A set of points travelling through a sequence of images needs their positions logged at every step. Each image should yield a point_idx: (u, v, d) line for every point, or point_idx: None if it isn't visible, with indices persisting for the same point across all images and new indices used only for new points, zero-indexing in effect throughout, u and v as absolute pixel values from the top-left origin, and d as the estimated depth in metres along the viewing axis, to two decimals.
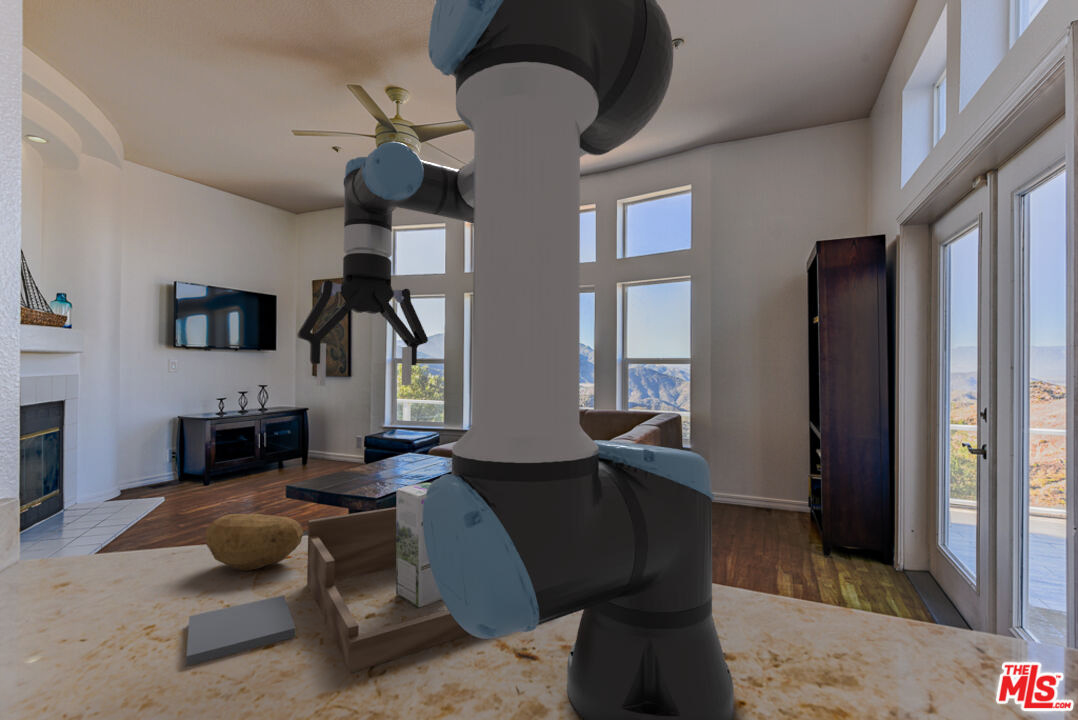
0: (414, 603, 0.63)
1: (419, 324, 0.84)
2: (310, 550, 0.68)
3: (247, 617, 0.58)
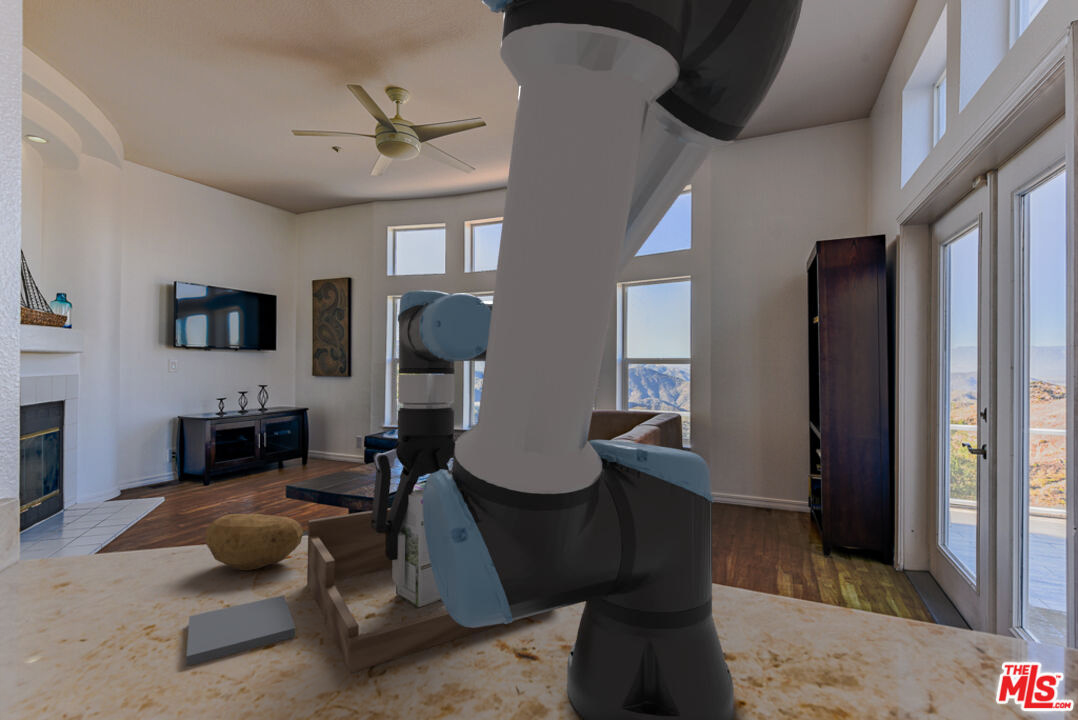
0: (414, 603, 0.63)
1: None
2: (310, 550, 0.68)
3: (247, 617, 0.58)
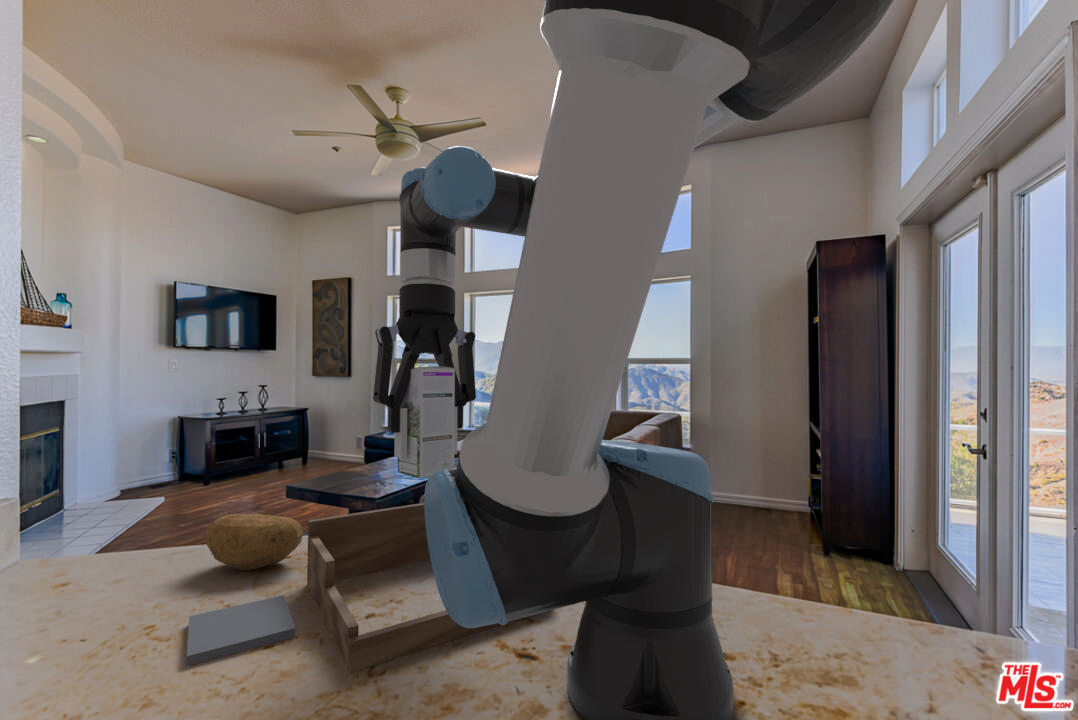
0: (415, 475, 0.63)
1: (472, 377, 0.69)
2: (310, 550, 0.68)
3: (247, 617, 0.58)
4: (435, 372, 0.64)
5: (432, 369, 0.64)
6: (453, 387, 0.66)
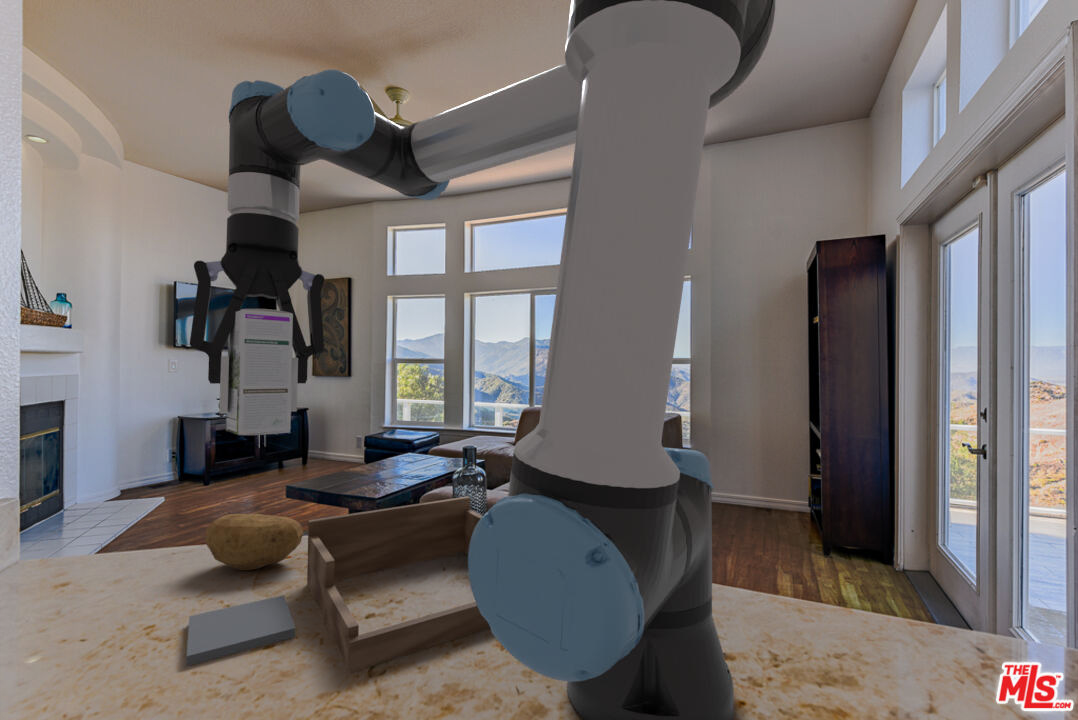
0: (235, 431, 0.55)
1: (319, 325, 0.61)
2: (310, 550, 0.68)
3: (247, 617, 0.58)
4: (264, 315, 0.56)
5: (259, 311, 0.56)
6: (289, 334, 0.58)
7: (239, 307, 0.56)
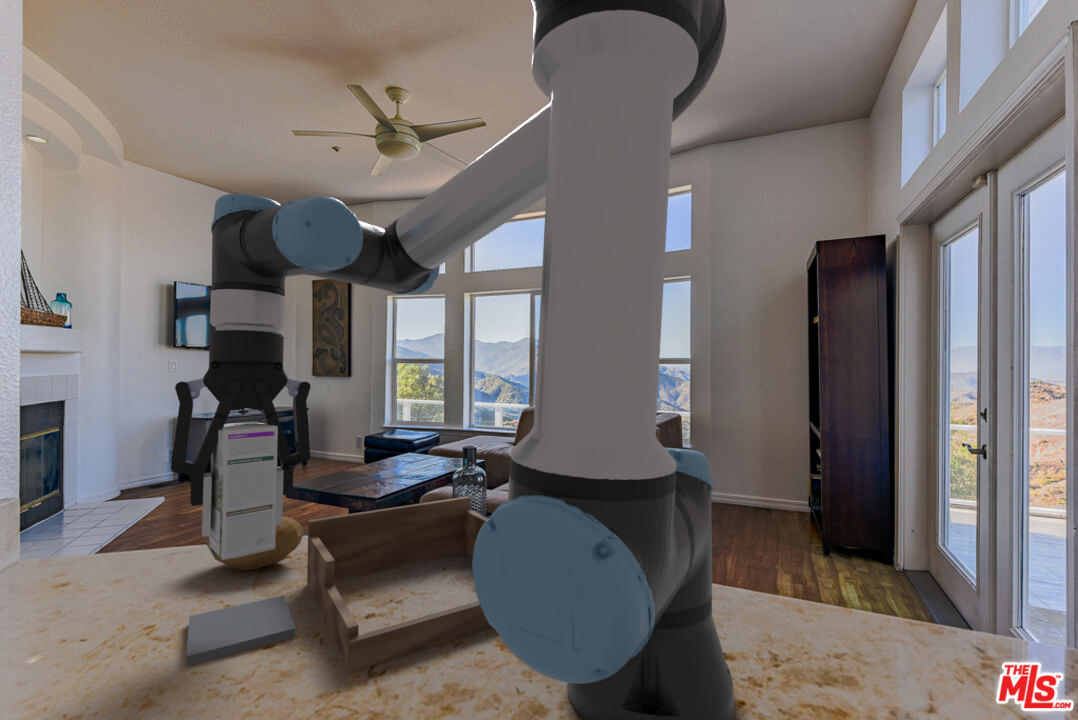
0: (218, 555, 0.54)
1: (305, 434, 0.60)
2: (310, 550, 0.68)
3: (247, 617, 0.58)
4: (248, 433, 0.55)
5: (242, 429, 0.55)
6: (274, 448, 0.57)
7: (222, 425, 0.55)
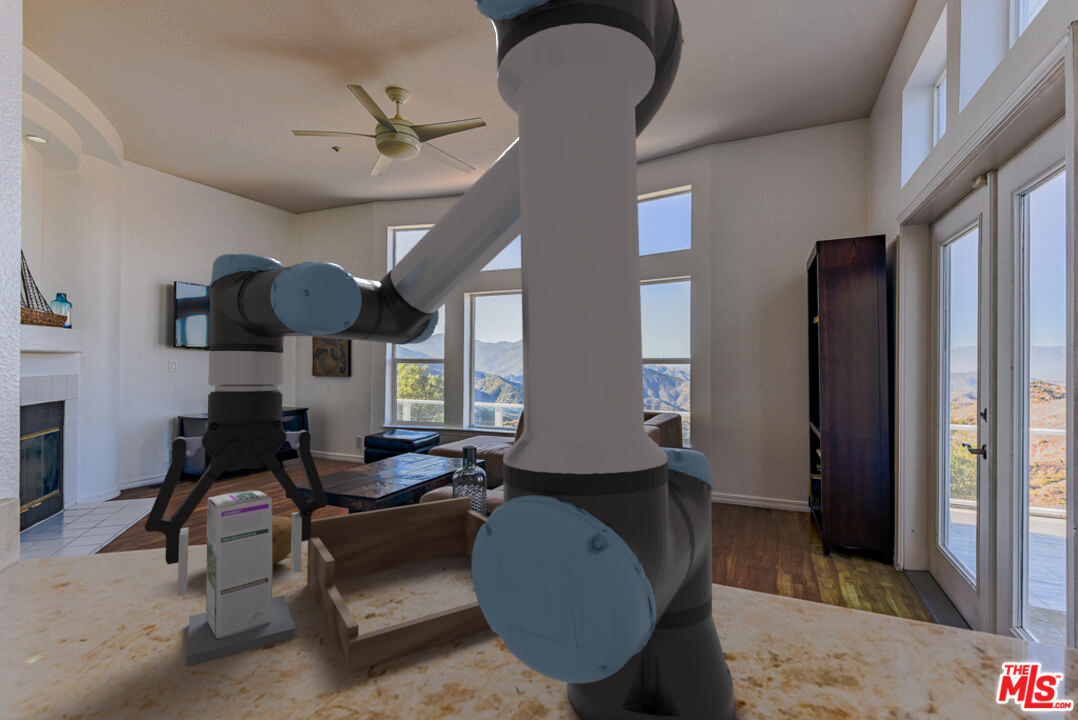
0: (214, 633, 0.53)
1: (318, 481, 0.60)
2: (310, 550, 0.68)
3: None
4: (241, 509, 0.54)
5: (236, 505, 0.54)
6: (269, 521, 0.56)
7: (210, 484, 0.54)
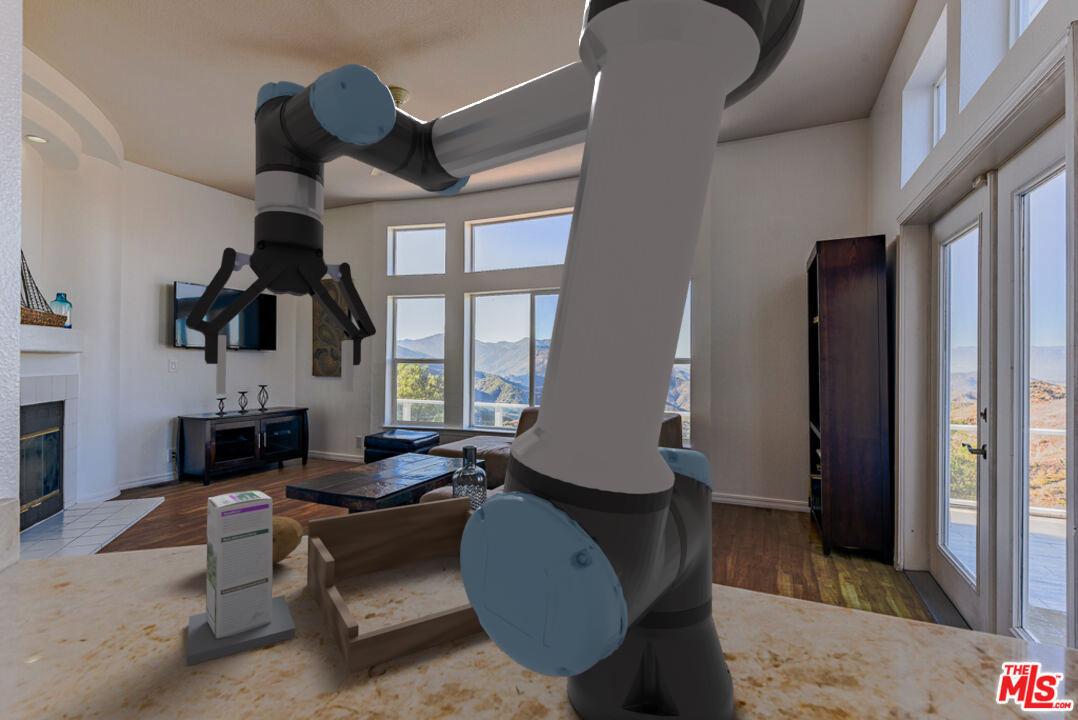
0: (214, 633, 0.53)
1: (364, 310, 0.63)
2: (310, 550, 0.68)
3: None
4: (241, 509, 0.54)
5: (236, 505, 0.54)
6: (269, 521, 0.56)
7: (253, 297, 0.56)
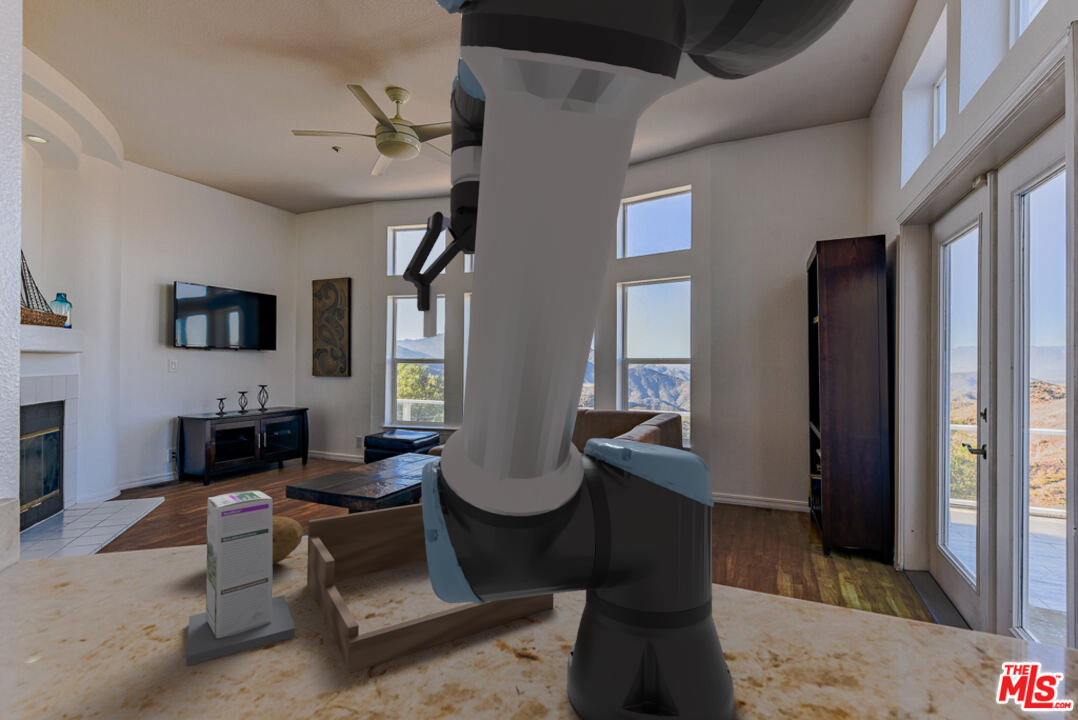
0: (214, 633, 0.53)
1: None
2: (310, 550, 0.68)
3: None
4: (241, 509, 0.54)
5: (236, 505, 0.54)
6: (269, 521, 0.56)
7: (455, 255, 0.65)
